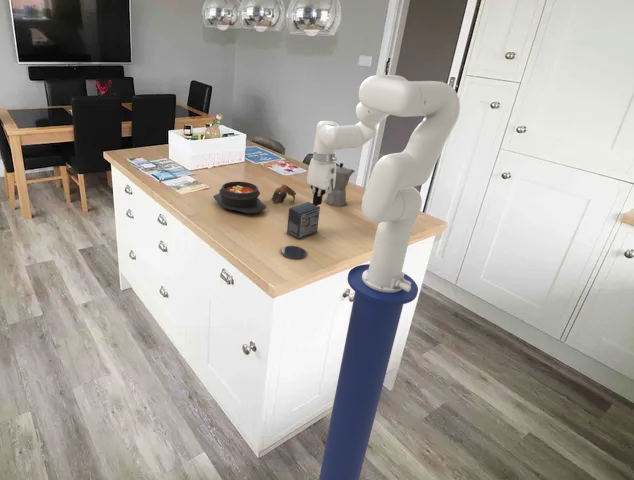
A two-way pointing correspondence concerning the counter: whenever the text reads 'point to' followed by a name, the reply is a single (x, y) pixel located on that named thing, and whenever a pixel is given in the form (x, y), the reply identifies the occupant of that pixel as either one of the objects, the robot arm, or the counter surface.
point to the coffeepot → (339, 186)
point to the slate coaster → (293, 252)
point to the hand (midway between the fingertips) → (316, 204)
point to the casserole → (240, 197)
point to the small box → (303, 220)
